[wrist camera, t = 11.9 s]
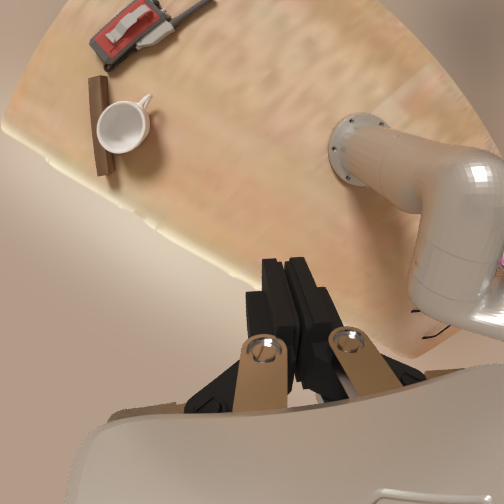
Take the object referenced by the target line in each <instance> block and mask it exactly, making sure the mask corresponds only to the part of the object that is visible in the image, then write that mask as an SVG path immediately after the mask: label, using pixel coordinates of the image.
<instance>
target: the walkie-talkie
mask: <svg viewBox="0 0 504 504" xmlns="http://www.w3.org/2000/svg"><path fill="white" fill-rule="evenodd" d="M211 1H212V0H201V1H200V2H198V3H197V4H195V5H194V6H192V7H191V8H189V9H188V10H186V11H185V12H183V13H182V14H181V15H179V16H178V17H176V18H174V19H172V20H171V21H170V22H168V19H169V17H171V16H170V15H169V14H168V13H167V14H165V12H166V10H165V9H164V8H163V9H162V10H161V9H160V10H159V9H158V8H157V7H156V6H155V5H159V4H160V3H159V2H158V1H157V0H134V1H133V2H132V3H131V4H129V5H128V6H127V7H126V8H125V9H123V10H122V11H121V12H120V13H119V14H118V15H116V17H114V18H113V19H112V20H111V21H110V22H108V24H106V26H104V27H103V28H102V29H101V30H100V31H99V32H98V33H97V34H95V36H93V38H92V39H90V43H89V45H90V46H91V47H92V49H93V50H94V51H95V52H96V53H97V54H98V55H99V57H100V58H101V59H102V60H103V61H104V62H105V63H106V64H105V65H104V70H105V71H106V72H110V71H111V70H113V69H114V68H115V67H116V66H117V65H118V64H119V63H120V62H122V61H123V60H124V59H125V58H126V57H127V56H128V55H129V54H130V53H132V52H134V51H136V50H140V49H142V48H143V47H149V46H155V45H157V44H158V43H159V42H160V41H162V40H163V39H164V38H165V37H167V36H168V35H169V34H172V33H173V32H175V31H176V30H175V29H174V27H175V26H177V25H178V24H179V23H180V22H181V21H182V20H184V19H185V18H187V17H188V16H189V15H191V14H192V13H194V12H195V11H197V10H198V9H200V8H201V7H203V6H204V5H206V4H207V3H209V2H211ZM108 65H113V66H112V67H111V68H110V69H107V66H108Z"/></svg>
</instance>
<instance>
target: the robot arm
mask: <svg viewBox="0 0 504 504" xmlns="http://www.w3.org/2000/svg"><path fill="white" fill-rule="evenodd" d="M349 120H351V122H349ZM379 124H380V125H379ZM332 147H334V149H333V150H332ZM328 156H329V160H330V164H331V166H332V168H333V170H334V171H335V172H336V174H337V175H338V176H339V177H340V178H341V179H343V180H344V181H345V182H347V183H349V184H351V185H354V186H358V187H366V186H368V187H370V188H371V189H372V190H374V191H375V192H377V193H378V194H379V195H381V196H382V197H383V198H385V199H386V200H387V201H389V202H390V203H391V204H393V205H394V206H396V207H397V208H398V209H400V210H402V211H404V212H407V213H410V214H421V218H420V223H419V230H418V235H417V239H416V244H415V248H414V252H413V256H412V260H411V265H410V268H409V273H408V278H407V292H408V295H409V298H410V300H411V301H412V303H413V304H414V305H415V307H416V308H417V309H419V310H420V311H421V312H423V313H424V314H426V315H427V316H429V317H431V318H433V319H435V320H437V321H440V322H443V323H445V324H448V325H451V326H454V327H458V328H461V329H464V330H467V331H470V332H474V333H477V334H481V335H483V336H487V337H490V338H493V339H496V340H500V341H503V342H504V272H503V274H502V275H501V276H499V277H494V276H495V274H496V271H497V268H498V265H499V263H500V260H501V258H502V256H503V253H504V160H503V159H502V158H500V157H499V156H497V155H495V154H493V153H491V152H489V151H486V150H483V149H479V148H474V147H467V146H458V145H450V144H445V143H440V142H436V141H432V140H429V139H425V138H422V137H419V136H415V135H411V134H408V133H404V132H401V131H397V130H393V129H391V128H390V127H389V126H388V125H387V124H386V122H384V121H383V120H382V119H380V118H379V117H377V116H374V115H371V114H365V113H359V114H353V115H350V116H348V117H346V118H344V119H343V120H342V121H341V122H339V123H338V124H337V126H336V127H335V128H334V130H333V132H332V134H331V136H330V139H329V144H328ZM346 176H348V177H347V178H346ZM246 317H247V331H248V339H247V340H246V341H245V343H244V344H243V346H242V349H241V355H240V360H238V361H237V362H236V363H235V364H233V365H232V366H231V367H230V368H229V369H227V370H226V371H225V372H223V373H222V374H221V375H220V376H218V377H217V378H216V379H215V380H213V381H212V382H211V383H209V384H208V385H207V386H206V387H204V388H203V389H202V390H200V391H199V392H198V393H196V394H195V395H194V396H192V398H190V399H189V400H188V401H187V403H184V404H178V405H177V404H176V402H173V403H167V404H160V405H154V406H147V407H140V408H132V409H123V410H120V411H117V412H115V413H114V414H112V415H111V416H110V418H109V419H108V422H107V423H106V424H104V425H101V426H99V427H97V428H95V429H94V430H92V431H91V432H90V433H88V435H87V436H86V437H85V438H84V439H83V441H82V443H81V445H80V446H79V448H78V451H77V453H76V456H75V458H74V461H73V464H72V468H71V472H70V475H69V480H68V484H67V489H66V494H65V500H64V504H504V364H485V365H484V364H483V365H478V366H473V367H469V368H461V369H448V370H434V371H425V373H424V374H423V373H422V372H420V371H419V370H417V369H415V368H412V367H410V366H408V365H405V364H403V363H401V362H399V361H396V360H394V359H392V358H389V357H387V356H385V355H383V354H380V353H379V351H378V350H377V348H376V347H375V346H374V344H373V343H372V341H371V340H370V339H369V337H368V336H367V335H366V334H365V333H364V332H363V331H361V330H360V329H358V328H354V327H348V326H345V327H344V326H343V324H342V321H341V319H340V317H339V315H338V312H337V310H336V308H335V306H334V304H333V302H332V299H331V297H330V295H329V293H328V291H327V289H326V287H317V286H316V284H315V281H314V279H313V277H312V274H311V272H310V270H309V268H308V265H307V263H306V261H305V258H304V257H293V258H290V259H289V261H285V266H284V268H283V265H282V262H277V260H276V258H274V259H262V291H253V292H246ZM294 373H295V378H296V381H297V382H302V387H303V389H310V390H312V391H314V392H316V399H317V402H318V404H314V405H308V406H300V407H291V408H287V395H288V394H289V393H290V392H291V391H292V384H293V380H294Z"/></svg>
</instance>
